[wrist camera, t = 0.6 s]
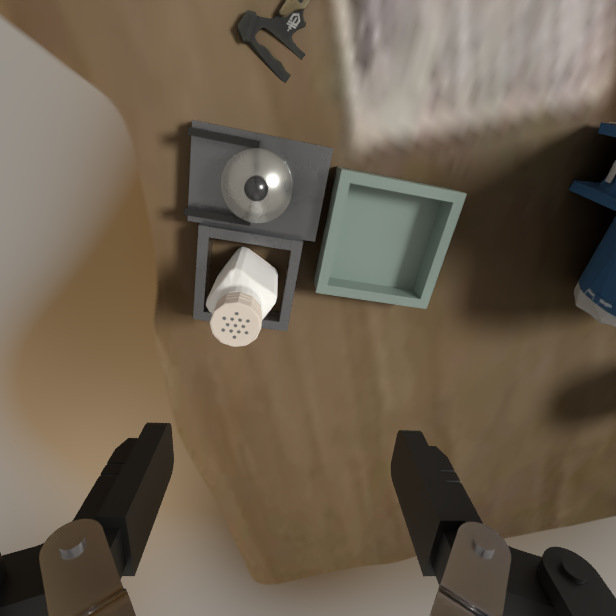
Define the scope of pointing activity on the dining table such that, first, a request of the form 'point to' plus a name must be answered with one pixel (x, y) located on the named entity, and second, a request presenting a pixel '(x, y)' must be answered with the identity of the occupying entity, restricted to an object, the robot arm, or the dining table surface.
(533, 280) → the dining table surface
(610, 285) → the blue boxy device
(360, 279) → the tray
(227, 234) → the grey caddy
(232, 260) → the pepper shaker
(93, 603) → the robot arm
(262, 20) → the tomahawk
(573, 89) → the dining table surface
